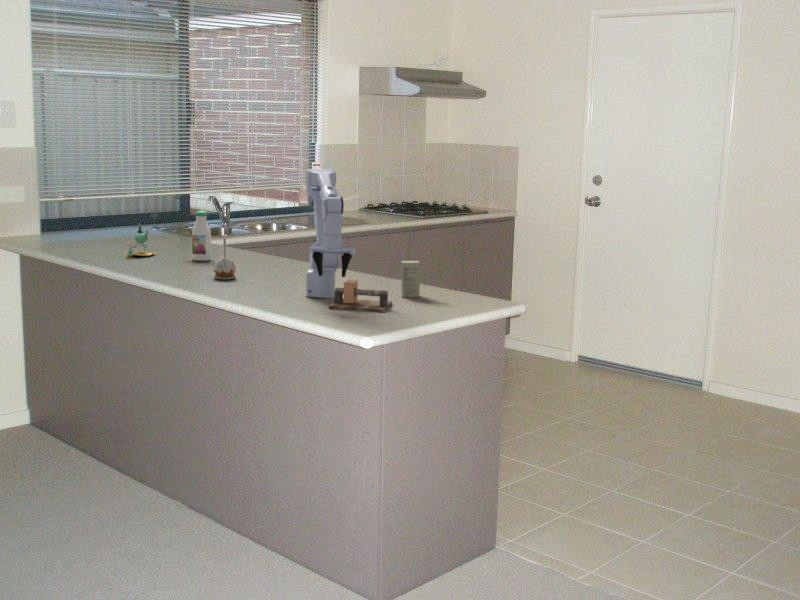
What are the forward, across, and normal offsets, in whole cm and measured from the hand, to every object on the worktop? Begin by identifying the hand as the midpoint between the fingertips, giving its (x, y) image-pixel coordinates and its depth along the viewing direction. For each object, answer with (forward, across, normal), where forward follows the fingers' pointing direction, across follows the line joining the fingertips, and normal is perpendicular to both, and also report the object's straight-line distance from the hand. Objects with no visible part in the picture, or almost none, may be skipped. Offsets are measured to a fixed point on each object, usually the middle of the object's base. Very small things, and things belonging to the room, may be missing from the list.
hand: (332, 276), depth 303 cm
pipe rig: (+10, +10, 0) cm, 14 cm away
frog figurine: (+8, -102, +75) cm, 127 cm away
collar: (+8, +6, 0) cm, 10 cm away
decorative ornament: (+9, -50, +36) cm, 62 cm away
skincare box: (+10, +22, +22) cm, 33 cm away
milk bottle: (+8, -74, +74) cm, 105 cm away
